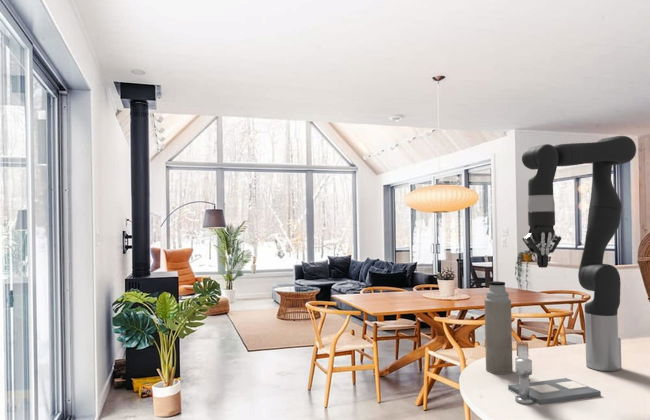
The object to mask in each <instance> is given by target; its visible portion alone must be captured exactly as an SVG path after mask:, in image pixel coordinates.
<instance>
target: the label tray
mask: <svg viewBox="0 0 650 420" xmlns="http://www.w3.org/2000/svg"><path fill="white" fill-rule="evenodd" d="M507 389H508V391H510V390H511V392H512V391H513V393H514V392H515V393H514V394H516V393H517V395H518V394H519V383H517V384H509V385H507ZM601 393H602V392H601V390H598V389H596V388H593V387H590V386H588V385H585V384H583V383H581V382H578V381H575V380H572V379H569V378H568V377H563V378H555V379H549V380H548V379H547V380H541V381H531V382H530V381H529V397H531V398H533V399H534V403H535V404H536V405H537V404H538V405H545V404H552V403H558V402H559V403H560V402H565V401H566V402H567V401H575V400H580V399H588V398H594V397H601V395H602V394H601Z"/></svg>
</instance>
